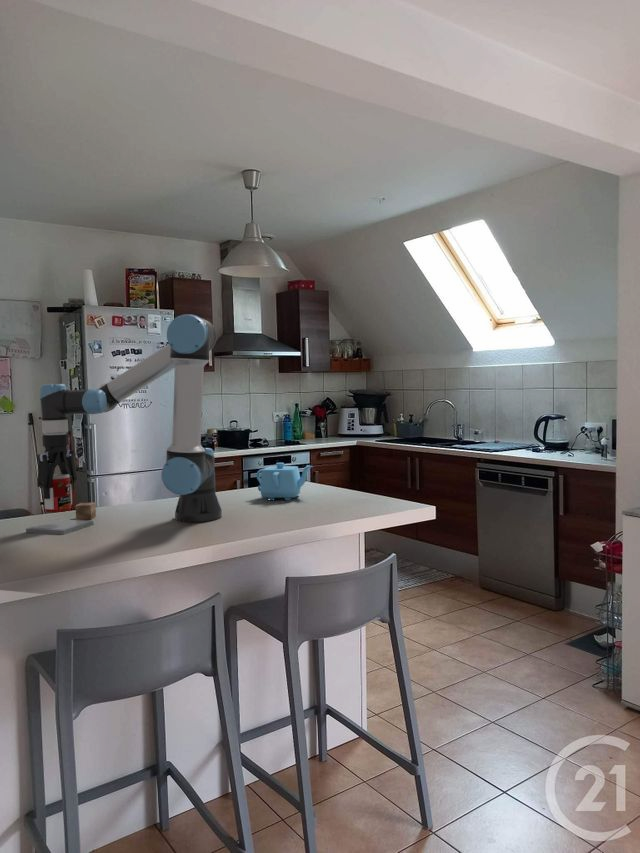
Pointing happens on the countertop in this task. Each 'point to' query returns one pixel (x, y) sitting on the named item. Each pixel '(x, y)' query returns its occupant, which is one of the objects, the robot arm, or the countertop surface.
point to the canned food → (61, 493)
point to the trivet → (59, 526)
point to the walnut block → (85, 511)
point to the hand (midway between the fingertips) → (58, 506)
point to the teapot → (281, 481)
